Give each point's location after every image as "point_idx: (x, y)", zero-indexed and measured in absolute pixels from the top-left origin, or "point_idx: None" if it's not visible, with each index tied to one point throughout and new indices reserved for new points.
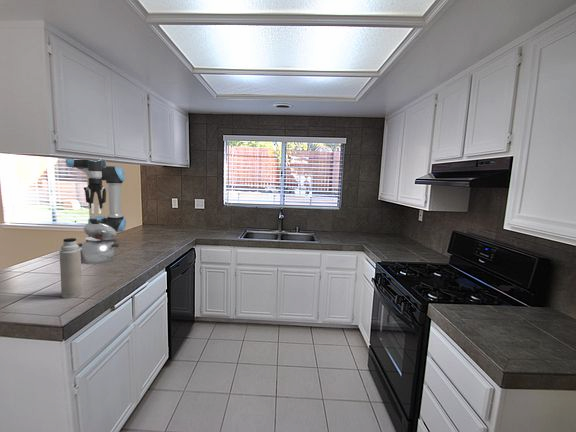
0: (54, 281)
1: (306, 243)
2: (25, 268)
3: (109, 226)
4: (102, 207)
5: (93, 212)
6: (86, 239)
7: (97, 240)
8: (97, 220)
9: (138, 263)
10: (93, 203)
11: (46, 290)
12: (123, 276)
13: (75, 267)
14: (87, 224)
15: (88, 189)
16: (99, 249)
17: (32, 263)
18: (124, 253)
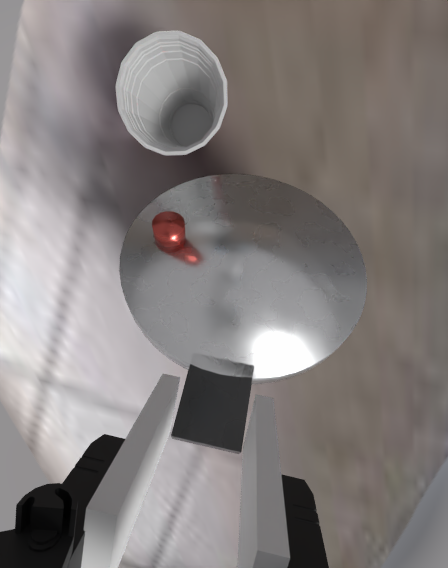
0: (169, 493)
1: None
2: (16, 332)
3: (336, 348)
4: (313, 497)
5: (171, 415)
6: (135, 136)
7: (205, 144)
8: (244, 427)
9: (423, 354)
10: (109, 545)
11: (177, 557)
12: (369, 503)
13: None
14: (147, 335)
15: None
16: None
17: (3, 265)
18: (347, 139)
